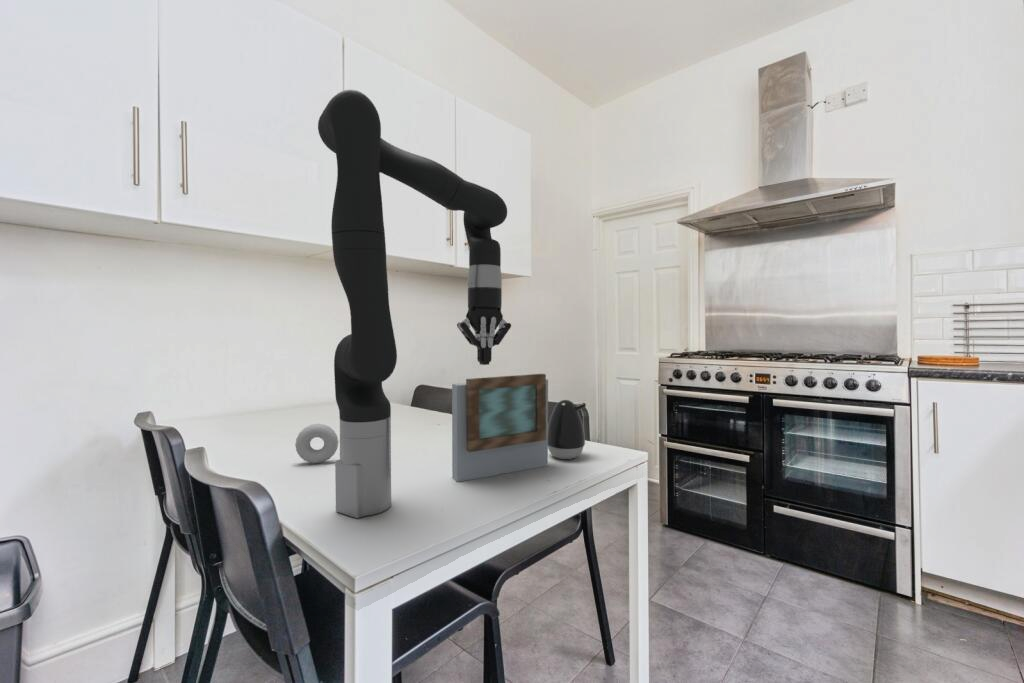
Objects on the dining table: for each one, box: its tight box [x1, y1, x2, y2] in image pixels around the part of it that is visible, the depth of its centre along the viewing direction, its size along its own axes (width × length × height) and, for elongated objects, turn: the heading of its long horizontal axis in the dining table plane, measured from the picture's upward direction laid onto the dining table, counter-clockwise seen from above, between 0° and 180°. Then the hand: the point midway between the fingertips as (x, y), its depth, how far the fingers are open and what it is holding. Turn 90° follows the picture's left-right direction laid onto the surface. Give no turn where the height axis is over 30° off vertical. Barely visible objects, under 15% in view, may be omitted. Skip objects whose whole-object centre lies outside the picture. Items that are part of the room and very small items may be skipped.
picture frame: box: [465, 373, 547, 452], centre depth 102 cm, size 20×2×16 cm, turn 119°
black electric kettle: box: [548, 399, 587, 460], centre depth 117 cm, size 10×10×15 cm
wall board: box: [451, 378, 549, 482], centre depth 105 cm, size 24×3×22 cm, turn 119°
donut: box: [295, 423, 339, 464], centre depth 111 cm, size 10×4×10 cm, turn 104°
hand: (484, 364), depth 99 cm, fingers closed
